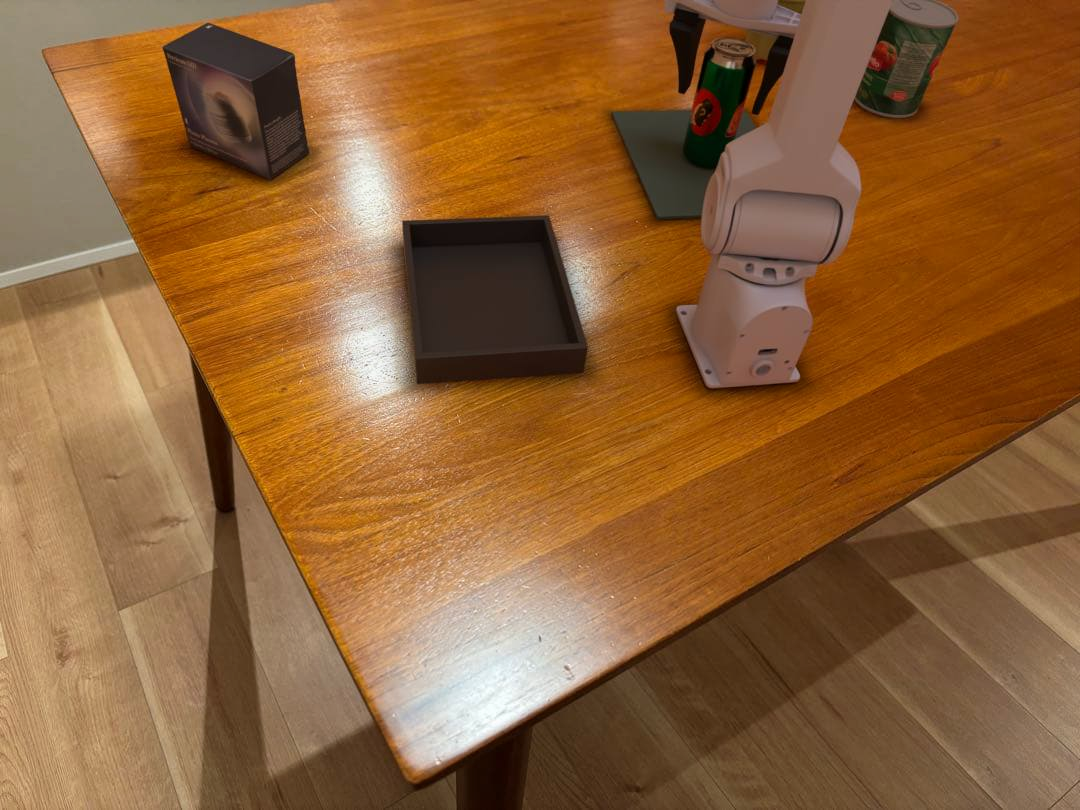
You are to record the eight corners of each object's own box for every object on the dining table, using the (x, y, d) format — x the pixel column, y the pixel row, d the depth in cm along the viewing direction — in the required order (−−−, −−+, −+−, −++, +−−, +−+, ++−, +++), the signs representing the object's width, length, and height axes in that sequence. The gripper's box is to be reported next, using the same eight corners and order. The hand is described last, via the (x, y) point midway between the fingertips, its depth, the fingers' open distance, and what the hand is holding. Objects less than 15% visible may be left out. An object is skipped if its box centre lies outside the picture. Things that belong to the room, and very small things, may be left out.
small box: (184, 148, 82) (156, 44, 74) (230, 121, 86) (207, 19, 78) (269, 183, 79) (248, 78, 71) (312, 152, 83) (297, 50, 75)
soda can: (727, 174, 85) (759, 62, 76) (679, 166, 86) (705, 53, 77) (729, 149, 89) (760, 39, 80) (683, 141, 89) (708, 31, 80)
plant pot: (716, 41, 107) (733, -29, 101) (774, 33, 110) (794, -36, 104) (757, 75, 102) (778, 3, 95) (817, 65, 105) (841, -5, 98)
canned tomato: (931, 114, 99) (974, 21, 90) (878, 122, 96) (918, 28, 88) (890, 82, 103) (927, -8, 95) (839, 89, 101) (873, -3, 93)
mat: (808, 214, 82) (810, 211, 82) (656, 220, 80) (657, 216, 79) (743, 112, 95) (744, 109, 95) (611, 114, 93) (611, 111, 92)
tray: (583, 372, 65) (588, 347, 63) (416, 384, 63) (415, 358, 61) (546, 240, 76) (549, 214, 74) (403, 246, 74) (402, 220, 72)
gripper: (846, -41, 73) (799, 102, 83) (692, -77, 76) (664, 65, 86) (832, -14, 69) (783, 133, 79) (669, -54, 72) (642, 93, 82)
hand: (720, 99), depth 82 cm, fingers open, 7 cm apart
